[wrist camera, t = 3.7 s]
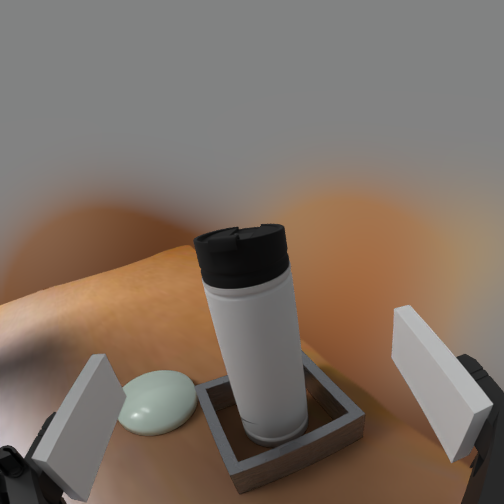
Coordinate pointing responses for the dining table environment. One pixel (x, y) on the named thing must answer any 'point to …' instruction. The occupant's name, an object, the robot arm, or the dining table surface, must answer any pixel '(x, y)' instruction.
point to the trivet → (157, 402)
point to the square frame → (296, 451)
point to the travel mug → (257, 328)
